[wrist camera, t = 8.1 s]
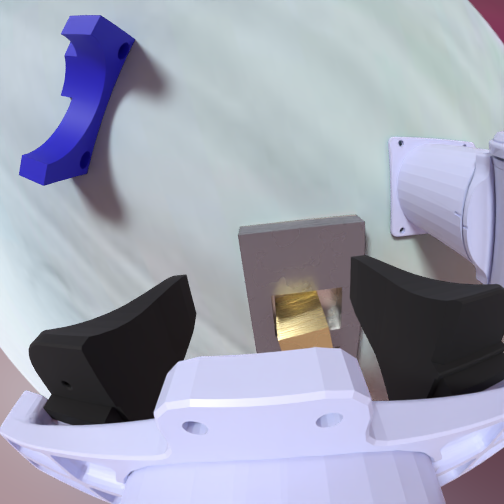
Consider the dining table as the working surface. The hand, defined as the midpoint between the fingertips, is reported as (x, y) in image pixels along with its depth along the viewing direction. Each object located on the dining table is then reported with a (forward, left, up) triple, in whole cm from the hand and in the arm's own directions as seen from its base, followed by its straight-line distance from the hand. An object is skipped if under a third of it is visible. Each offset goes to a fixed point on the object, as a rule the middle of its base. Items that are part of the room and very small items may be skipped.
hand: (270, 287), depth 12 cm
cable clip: (+13, -13, -10) cm, 21 cm away
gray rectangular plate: (-3, +10, -10) cm, 14 cm away
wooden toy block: (-2, +10, -10) cm, 14 cm away
